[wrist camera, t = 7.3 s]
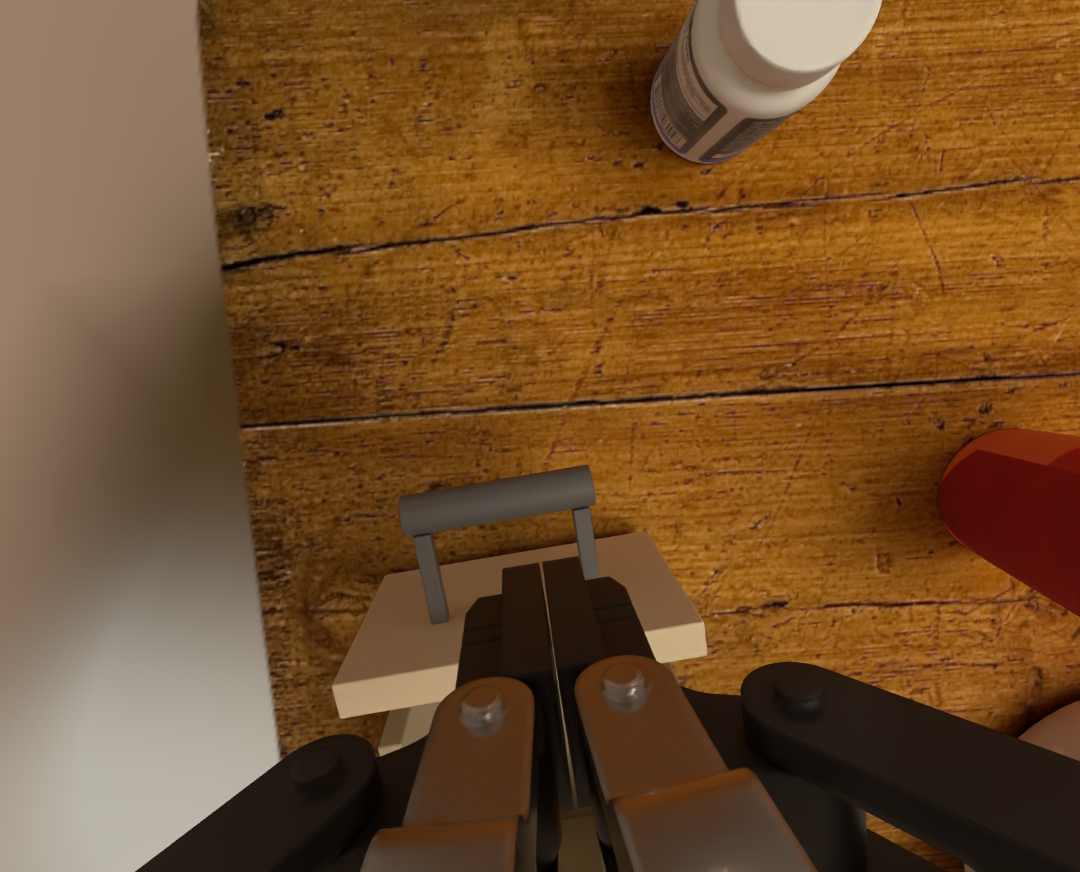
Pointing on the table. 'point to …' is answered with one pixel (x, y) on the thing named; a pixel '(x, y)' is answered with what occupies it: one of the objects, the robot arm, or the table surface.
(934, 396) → the table surface
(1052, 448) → the coffee cup
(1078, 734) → the teapot
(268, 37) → the table surface
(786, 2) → the pill bottle
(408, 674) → the storage drawer
